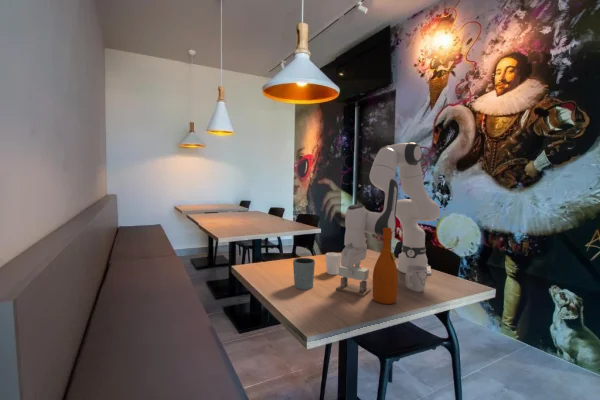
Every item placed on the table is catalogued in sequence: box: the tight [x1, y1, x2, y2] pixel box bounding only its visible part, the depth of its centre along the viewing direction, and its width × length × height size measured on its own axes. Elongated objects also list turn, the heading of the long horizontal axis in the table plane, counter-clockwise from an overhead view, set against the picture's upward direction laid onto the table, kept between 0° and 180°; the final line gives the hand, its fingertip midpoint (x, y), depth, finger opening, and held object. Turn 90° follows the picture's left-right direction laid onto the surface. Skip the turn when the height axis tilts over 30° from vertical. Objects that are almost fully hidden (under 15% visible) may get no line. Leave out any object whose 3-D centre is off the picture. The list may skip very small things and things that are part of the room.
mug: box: [404, 265, 427, 293], centre depth 136 cm, size 11×8×10 cm
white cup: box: [325, 251, 342, 276], centre depth 159 cm, size 8×8×10 cm
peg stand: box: [335, 277, 372, 298], centre depth 133 cm, size 8×13×5 cm, turn 57°
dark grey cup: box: [292, 257, 316, 290], centre depth 138 cm, size 10×10×12 cm
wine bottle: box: [372, 227, 399, 305], centre depth 122 cm, size 10×10×30 cm
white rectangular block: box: [338, 264, 370, 282], centre depth 133 cm, size 12×5×4 cm, turn 57°
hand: (353, 272), depth 133 cm, fingers closed on white rectangular block, 5 cm apart
